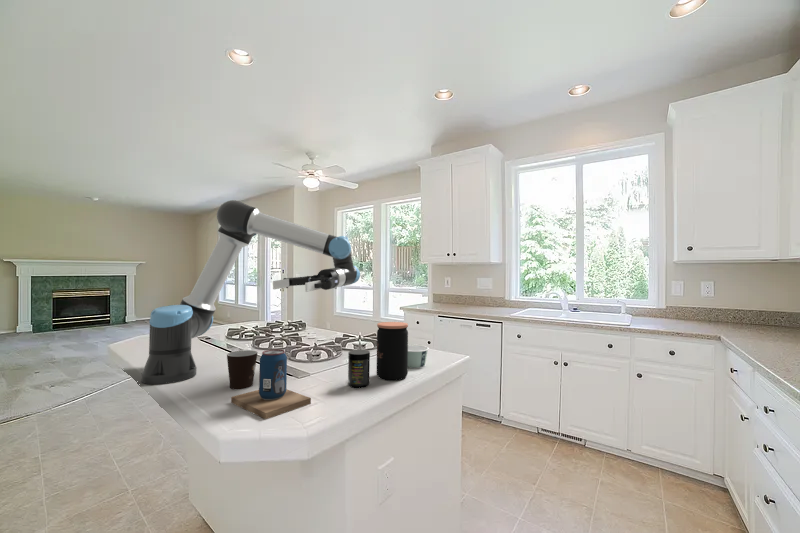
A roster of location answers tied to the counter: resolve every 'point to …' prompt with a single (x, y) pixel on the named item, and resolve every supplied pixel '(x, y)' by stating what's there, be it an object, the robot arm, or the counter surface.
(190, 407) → the counter surface
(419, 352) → the food container
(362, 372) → the supplement container
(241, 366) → the coffee mug
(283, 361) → the soda can
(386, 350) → the coffee jar
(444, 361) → the counter surface
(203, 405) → the counter surface
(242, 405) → the walnut board
